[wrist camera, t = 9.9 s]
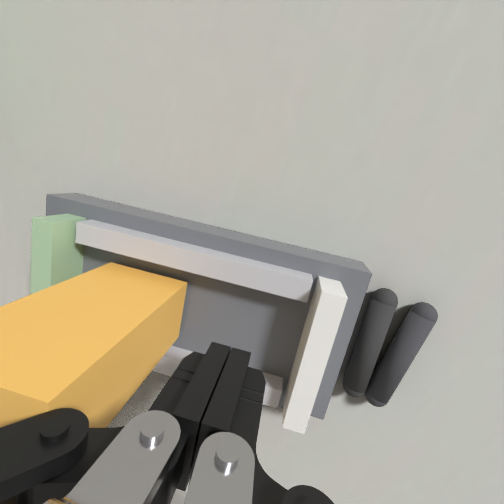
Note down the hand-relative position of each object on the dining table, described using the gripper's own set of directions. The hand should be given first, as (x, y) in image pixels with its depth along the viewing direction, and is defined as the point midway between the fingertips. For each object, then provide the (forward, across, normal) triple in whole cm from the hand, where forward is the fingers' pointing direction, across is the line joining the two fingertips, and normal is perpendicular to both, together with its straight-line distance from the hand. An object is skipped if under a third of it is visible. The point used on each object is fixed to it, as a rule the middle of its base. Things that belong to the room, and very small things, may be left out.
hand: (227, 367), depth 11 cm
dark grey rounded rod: (+6, -8, 0) cm, 10 cm away
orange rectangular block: (+4, +5, 0) cm, 6 cm away
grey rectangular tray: (+6, +3, 0) cm, 6 cm away
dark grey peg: (+6, -6, 0) cm, 9 cm away
